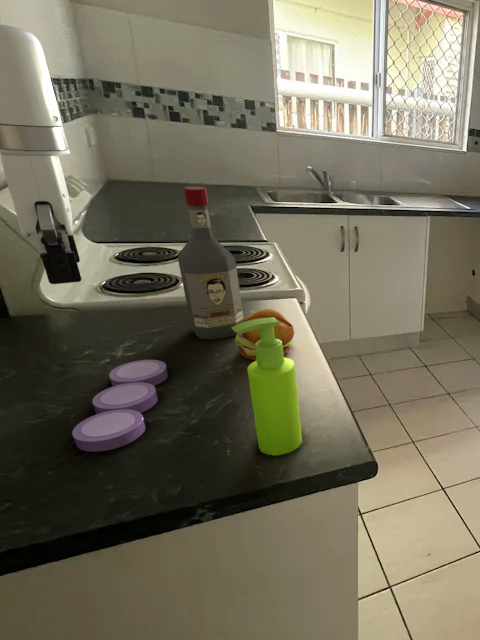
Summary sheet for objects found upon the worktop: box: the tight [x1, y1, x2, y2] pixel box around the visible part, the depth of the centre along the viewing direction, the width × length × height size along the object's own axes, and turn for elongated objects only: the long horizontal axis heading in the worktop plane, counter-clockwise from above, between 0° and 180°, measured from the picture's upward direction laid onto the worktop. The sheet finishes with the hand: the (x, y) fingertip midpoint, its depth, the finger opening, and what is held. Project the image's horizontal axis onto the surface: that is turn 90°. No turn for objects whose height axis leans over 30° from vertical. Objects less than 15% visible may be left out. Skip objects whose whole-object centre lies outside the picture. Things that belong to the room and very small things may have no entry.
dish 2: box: [108, 359, 169, 387], centre depth 83 cm, size 8×8×2 cm
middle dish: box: [92, 382, 159, 415], centre depth 76 cm, size 8×8×2 cm
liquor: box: [177, 186, 245, 341], centre depth 97 cm, size 9×9×30 cm
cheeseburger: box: [234, 308, 295, 361], centre depth 94 cm, size 10×11×10 cm
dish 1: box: [71, 409, 146, 453], centre depth 69 cm, size 8×8×2 cm
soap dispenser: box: [231, 317, 303, 456], centre depth 66 cm, size 6×7×20 cm
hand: (66, 272), depth 66 cm, fingers open, 9 cm apart
